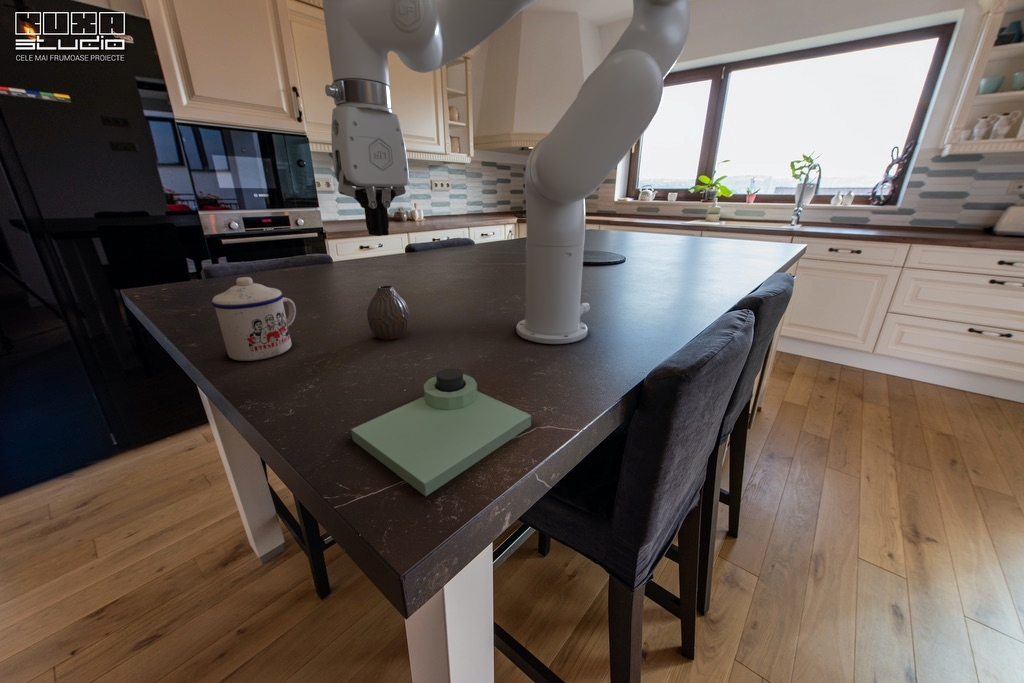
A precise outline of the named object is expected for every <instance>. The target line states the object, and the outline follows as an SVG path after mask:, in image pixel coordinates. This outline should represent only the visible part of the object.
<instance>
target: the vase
mask: <svg viewBox="0 0 1024 683" xmlns="http://www.w3.org/2000/svg"><path fill="white" fill-rule="evenodd" d="M366 317H367V318H366V319H367V323H368V326H369V328H370V331H371V332H372V334H374V335H375V336H376V337H377V338H378V339H380V340H382V341H383V340H384V341H392V340H397V339H400V338H402V337H403V336H404V335H405V334H406V333H407V331H408V329H409V326H410V319H411V318H410V310H409V307H408V305H407V303H406V301H405V300H404V298H402V297H401V295H400V294H398V292H396V289H395V287H394V286H393V285H390V284H389V285H388V284H385V285H379V286H377V289H376V291H375V294H374V296H373V297H372V299H371V300H370V302H369V303H368V306H367V312H366Z"/></svg>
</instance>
